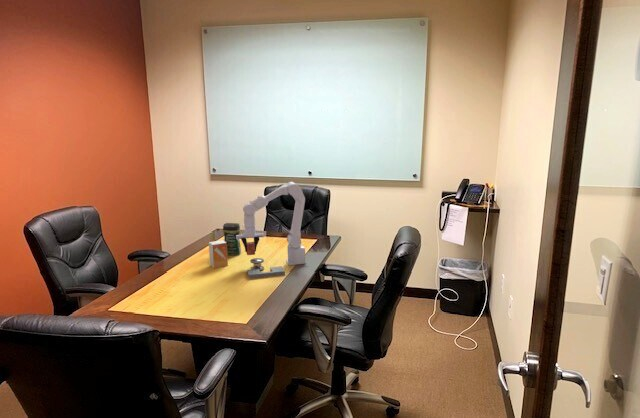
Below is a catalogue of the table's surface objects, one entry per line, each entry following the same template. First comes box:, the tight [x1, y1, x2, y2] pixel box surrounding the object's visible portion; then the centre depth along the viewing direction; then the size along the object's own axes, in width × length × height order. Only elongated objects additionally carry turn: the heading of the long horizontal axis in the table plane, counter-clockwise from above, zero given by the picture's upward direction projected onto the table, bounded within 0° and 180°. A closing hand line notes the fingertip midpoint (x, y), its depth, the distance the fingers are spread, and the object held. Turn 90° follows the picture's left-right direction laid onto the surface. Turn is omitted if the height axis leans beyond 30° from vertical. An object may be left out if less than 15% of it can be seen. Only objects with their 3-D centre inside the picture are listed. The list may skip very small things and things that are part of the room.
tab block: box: [246, 241, 256, 256], centre depth 226 cm, size 4×4×6 cm
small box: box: [208, 239, 229, 269], centre depth 229 cm, size 8×6×13 cm
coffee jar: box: [222, 222, 242, 256], centre depth 249 cm, size 10×8×19 cm
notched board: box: [246, 265, 286, 280], centre depth 216 cm, size 18×8×2 cm, turn 106°
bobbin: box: [250, 257, 265, 272], centre depth 224 cm, size 7×7×5 cm
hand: (250, 251), depth 227 cm, fingers closed on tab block, 4 cm apart
